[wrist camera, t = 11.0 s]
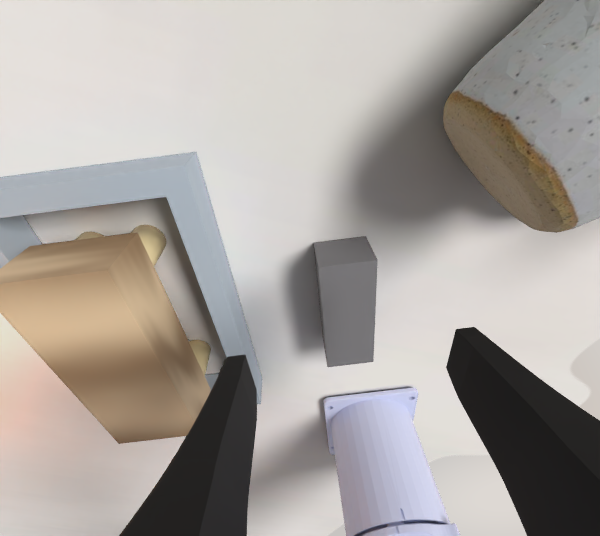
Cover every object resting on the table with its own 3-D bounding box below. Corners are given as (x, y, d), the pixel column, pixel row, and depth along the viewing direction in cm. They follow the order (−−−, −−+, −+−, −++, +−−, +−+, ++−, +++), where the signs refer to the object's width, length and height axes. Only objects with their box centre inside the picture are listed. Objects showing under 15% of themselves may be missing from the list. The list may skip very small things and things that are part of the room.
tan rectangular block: (210, 389, 21) (201, 434, 18) (137, 397, 21) (118, 443, 18) (137, 232, 14) (107, 270, 11) (29, 246, 14) (-24, 286, 12)
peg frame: (262, 378, 24) (260, 407, 22) (128, 394, 25) (114, 424, 23) (196, 152, 15) (182, 167, 12) (-28, 180, 15) (-78, 201, 13)
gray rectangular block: (364, 333, 22) (373, 361, 20) (323, 338, 22) (327, 367, 20) (365, 236, 18) (377, 260, 16) (313, 242, 18) (318, 267, 16)
